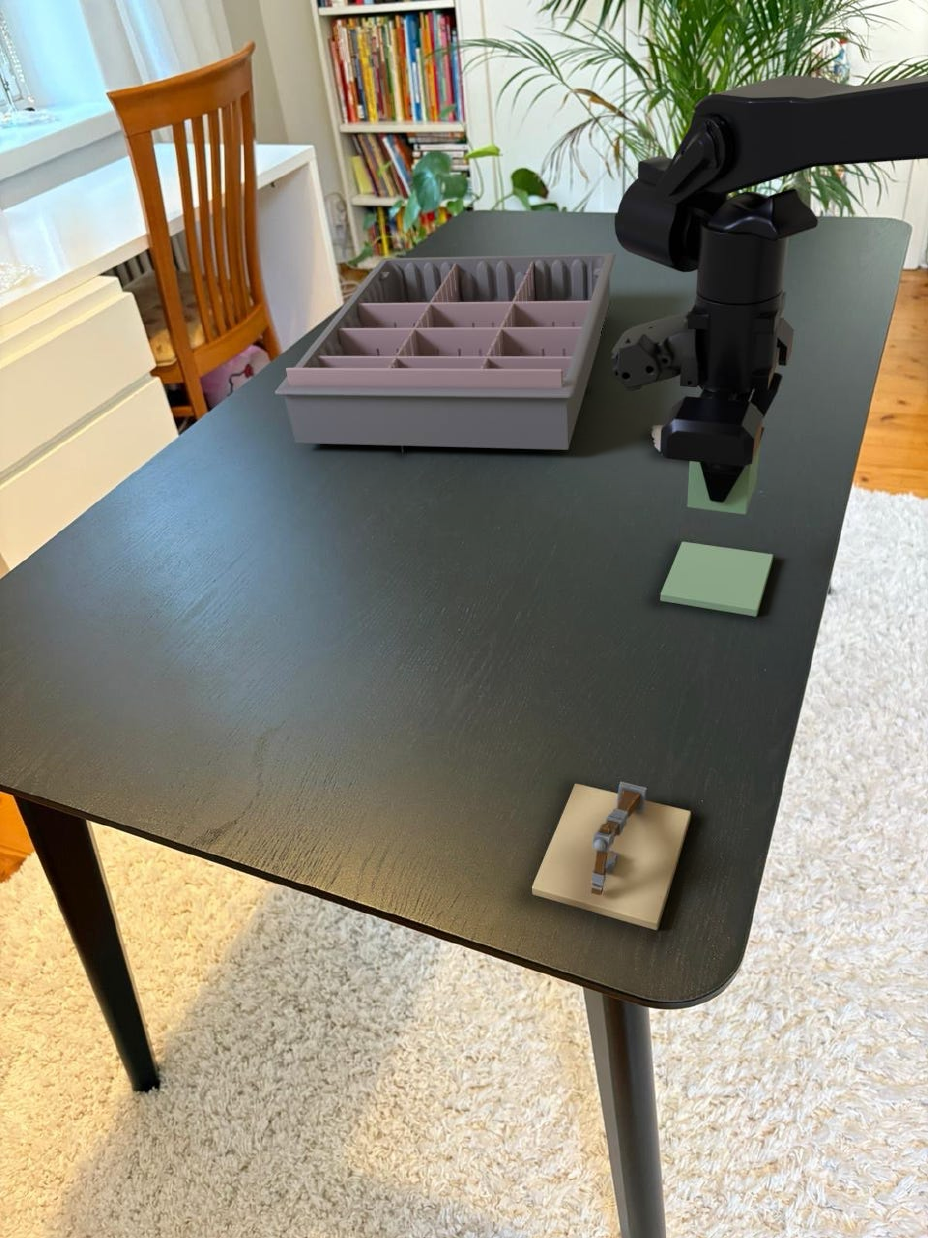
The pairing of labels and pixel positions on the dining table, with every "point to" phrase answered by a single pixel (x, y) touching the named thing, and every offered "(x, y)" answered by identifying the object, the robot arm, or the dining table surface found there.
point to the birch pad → (640, 862)
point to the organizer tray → (456, 354)
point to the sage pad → (718, 578)
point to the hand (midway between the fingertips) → (723, 484)
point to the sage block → (737, 496)
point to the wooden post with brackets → (614, 832)
